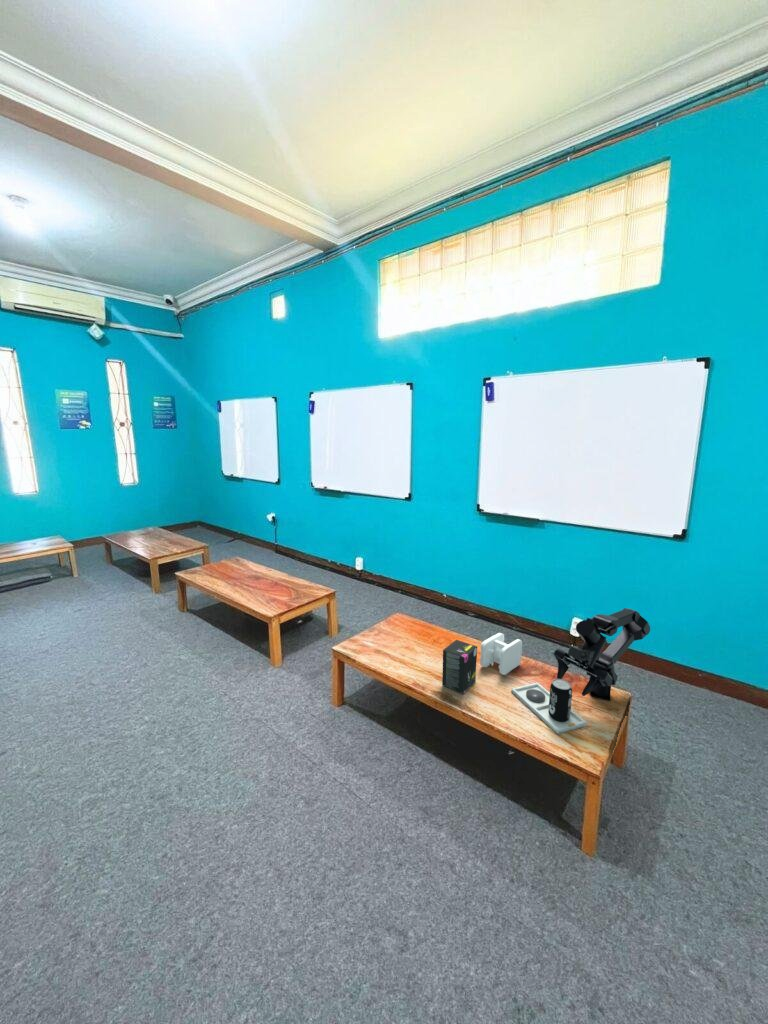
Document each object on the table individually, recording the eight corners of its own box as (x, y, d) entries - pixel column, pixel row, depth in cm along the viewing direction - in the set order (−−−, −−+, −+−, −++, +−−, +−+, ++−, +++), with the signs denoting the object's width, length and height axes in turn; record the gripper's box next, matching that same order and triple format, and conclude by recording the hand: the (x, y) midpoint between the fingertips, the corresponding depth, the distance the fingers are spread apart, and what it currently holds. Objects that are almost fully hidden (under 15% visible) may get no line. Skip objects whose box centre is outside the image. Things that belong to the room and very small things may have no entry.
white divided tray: (537, 685, 150) (537, 681, 150) (586, 725, 129) (586, 721, 129) (511, 692, 147) (511, 687, 146) (557, 734, 125) (557, 729, 125)
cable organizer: (501, 679, 155) (503, 651, 153) (478, 668, 163) (479, 641, 161) (521, 665, 165) (523, 638, 163) (498, 655, 173) (500, 630, 171)
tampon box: (463, 695, 145) (465, 657, 143) (441, 685, 150) (442, 649, 148) (476, 681, 154) (478, 645, 151) (455, 672, 159) (456, 638, 157)
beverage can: (544, 712, 135) (546, 679, 133) (560, 708, 137) (563, 676, 135) (557, 725, 129) (560, 691, 127) (574, 721, 130) (577, 687, 128)
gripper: (557, 627, 142) (535, 665, 138) (610, 649, 126) (587, 692, 122) (570, 642, 147) (549, 678, 143) (621, 665, 131) (600, 707, 127)
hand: (569, 688), depth 134 cm, fingers open, 9 cm apart
